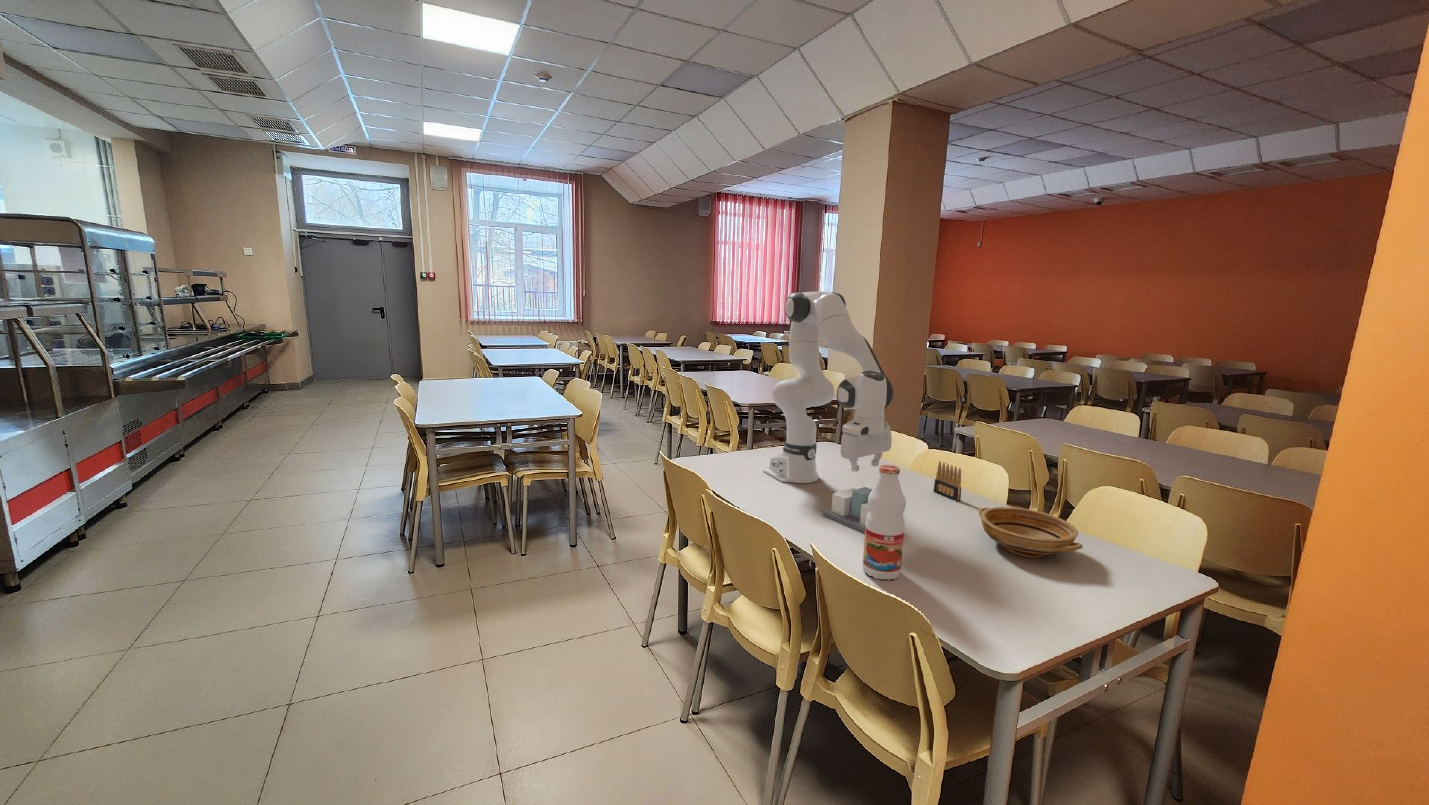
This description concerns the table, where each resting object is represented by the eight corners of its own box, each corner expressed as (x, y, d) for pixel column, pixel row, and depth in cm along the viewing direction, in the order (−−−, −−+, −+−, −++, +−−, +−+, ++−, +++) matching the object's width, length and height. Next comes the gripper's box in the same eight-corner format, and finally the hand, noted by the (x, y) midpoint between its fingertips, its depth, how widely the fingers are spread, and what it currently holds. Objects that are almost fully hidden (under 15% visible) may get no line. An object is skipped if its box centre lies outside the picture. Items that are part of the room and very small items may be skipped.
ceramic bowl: (951, 535, 168) (954, 510, 166) (1006, 523, 178) (1009, 499, 177) (1046, 580, 142) (1050, 551, 140) (1104, 563, 152) (1108, 535, 151)
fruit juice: (897, 565, 148) (905, 463, 143) (903, 583, 139) (913, 474, 134) (860, 562, 149) (867, 460, 144) (864, 579, 140) (872, 471, 135)
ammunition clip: (960, 501, 197) (964, 468, 195) (956, 501, 196) (960, 468, 194) (936, 491, 207) (939, 460, 204) (933, 492, 206) (936, 460, 204)
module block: (850, 514, 177) (852, 490, 175) (863, 510, 180) (865, 486, 179) (861, 518, 174) (862, 494, 172) (873, 514, 177) (875, 490, 176)
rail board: (822, 515, 181) (824, 493, 180) (851, 506, 189) (853, 485, 188) (873, 537, 165) (875, 513, 164) (902, 526, 173) (904, 503, 172)
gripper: (881, 419, 180) (878, 460, 183) (838, 426, 168) (835, 471, 171) (898, 423, 175) (894, 465, 178) (855, 431, 163) (851, 476, 166)
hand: (865, 468), depth 174 cm, fingers open, 8 cm apart
